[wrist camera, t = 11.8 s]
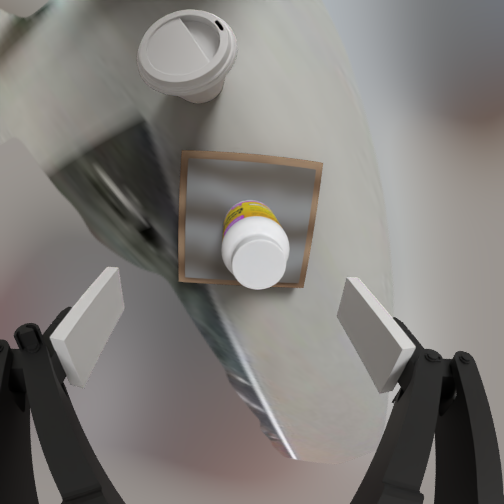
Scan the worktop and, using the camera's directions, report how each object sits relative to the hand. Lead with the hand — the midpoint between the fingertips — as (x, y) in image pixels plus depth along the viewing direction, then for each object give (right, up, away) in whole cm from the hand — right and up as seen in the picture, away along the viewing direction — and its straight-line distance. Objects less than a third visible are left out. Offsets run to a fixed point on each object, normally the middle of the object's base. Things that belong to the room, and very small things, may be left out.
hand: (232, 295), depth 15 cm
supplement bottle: (+1, +6, +20) cm, 21 cm away
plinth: (0, +7, +24) cm, 25 cm away
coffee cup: (-6, +26, +17) cm, 31 cm away
